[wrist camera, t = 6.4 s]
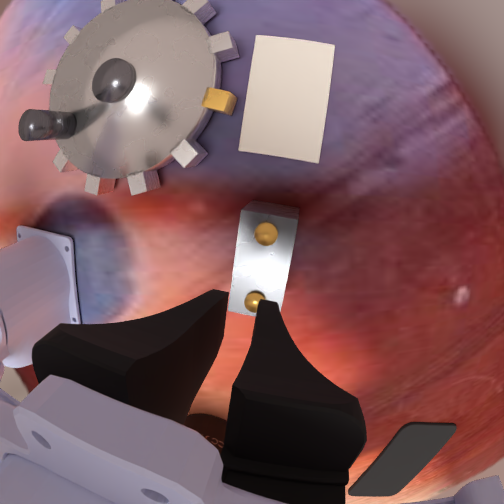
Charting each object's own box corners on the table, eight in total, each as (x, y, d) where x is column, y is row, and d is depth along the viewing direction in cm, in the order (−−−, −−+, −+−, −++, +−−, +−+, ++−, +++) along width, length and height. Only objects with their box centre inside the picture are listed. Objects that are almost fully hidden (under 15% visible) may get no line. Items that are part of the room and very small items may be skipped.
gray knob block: (283, 292, 21) (278, 323, 17) (241, 284, 22) (226, 313, 18) (299, 207, 20) (298, 221, 16) (253, 199, 20) (240, 210, 16)
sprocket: (281, 120, 17) (272, 103, 12) (100, 227, 22) (48, 250, 16) (182, -35, 15) (148, -75, 9) (39, 78, 19) (-11, 72, 13)
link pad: (318, 163, 18) (318, 163, 18) (239, 150, 19) (238, 150, 19) (334, 46, 16) (335, 45, 16) (257, 36, 16) (256, 34, 16)
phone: (461, 425, 22) (394, 496, 27) (458, 420, 23) (394, 491, 28) (405, 423, 23) (344, 495, 28) (403, 417, 24) (344, 490, 29)
